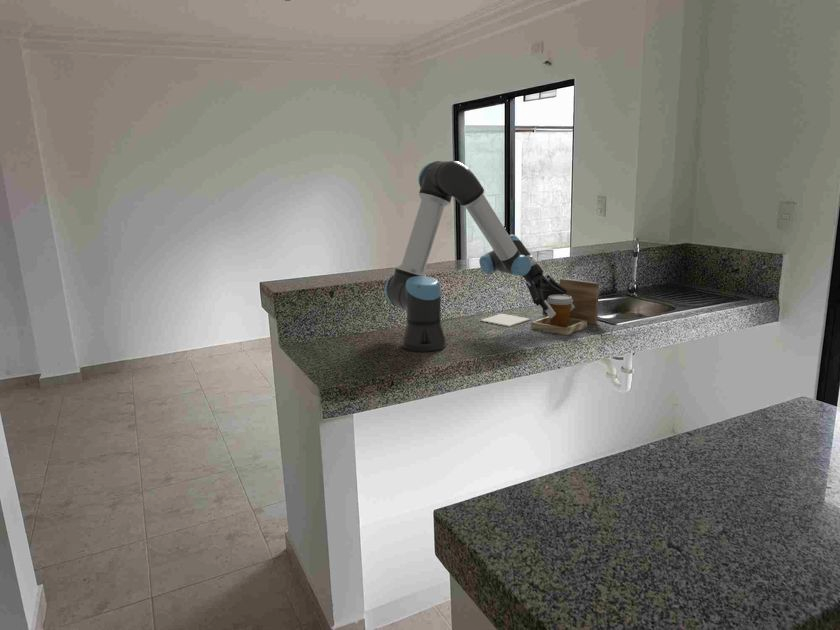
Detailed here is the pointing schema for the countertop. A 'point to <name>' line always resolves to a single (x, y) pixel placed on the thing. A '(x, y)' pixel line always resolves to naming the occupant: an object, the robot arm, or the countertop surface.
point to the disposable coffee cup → (560, 309)
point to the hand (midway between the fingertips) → (563, 312)
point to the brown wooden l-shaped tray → (584, 306)
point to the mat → (505, 320)
